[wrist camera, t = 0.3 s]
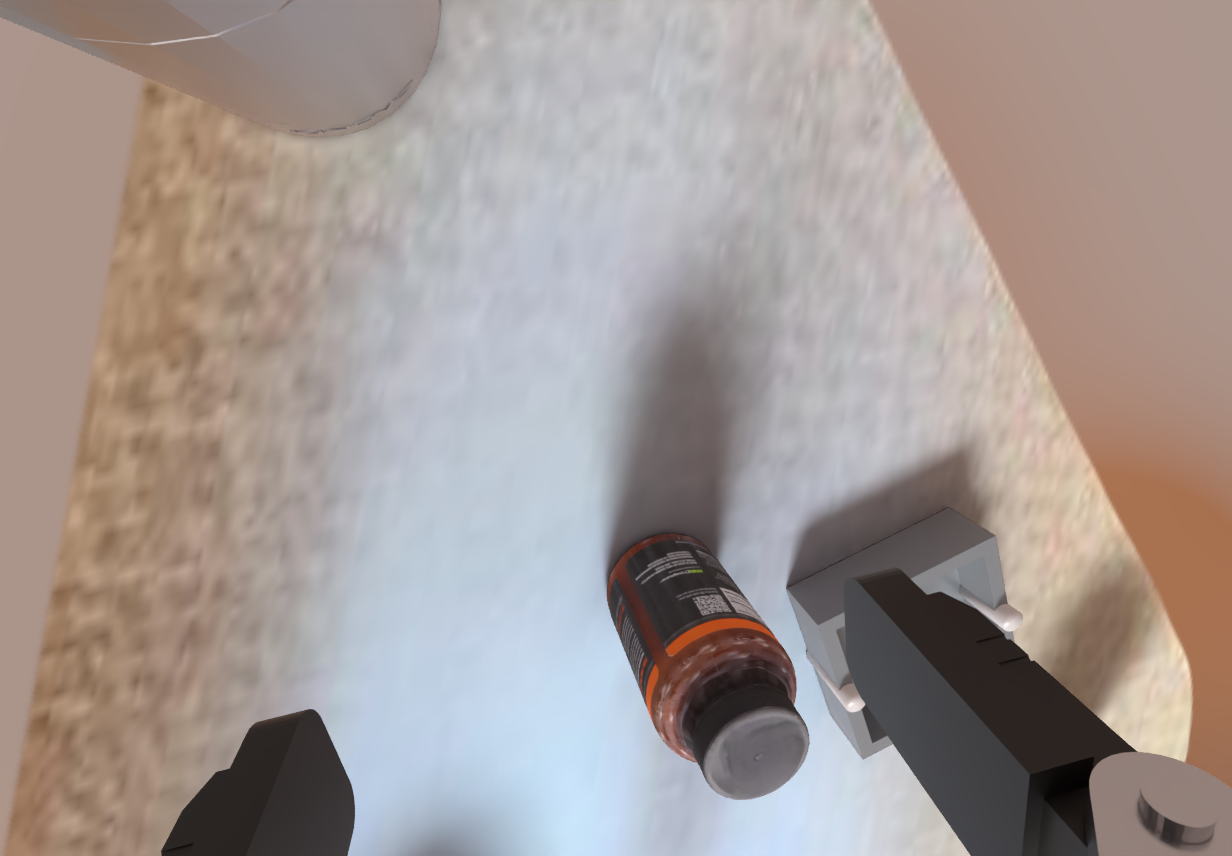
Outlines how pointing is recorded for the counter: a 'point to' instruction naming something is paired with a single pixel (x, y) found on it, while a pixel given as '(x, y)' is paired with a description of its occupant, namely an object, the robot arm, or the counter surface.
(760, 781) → the supplement bottle
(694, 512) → the counter surface
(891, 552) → the tray
